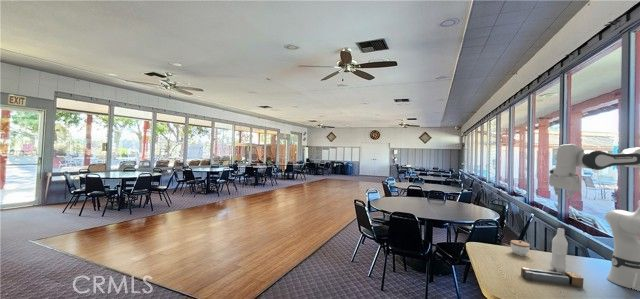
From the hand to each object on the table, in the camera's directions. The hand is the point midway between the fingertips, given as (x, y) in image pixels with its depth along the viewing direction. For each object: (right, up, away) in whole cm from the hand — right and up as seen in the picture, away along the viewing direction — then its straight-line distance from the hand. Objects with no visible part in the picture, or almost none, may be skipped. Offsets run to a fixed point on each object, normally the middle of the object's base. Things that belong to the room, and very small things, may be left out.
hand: (563, 196), depth 162 cm
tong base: (-13, -44, -7) cm, 47 cm away
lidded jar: (-4, -44, +30) cm, 53 cm away
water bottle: (+2, -45, +6) cm, 45 cm away
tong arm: (-15, -44, -5) cm, 47 cm away
